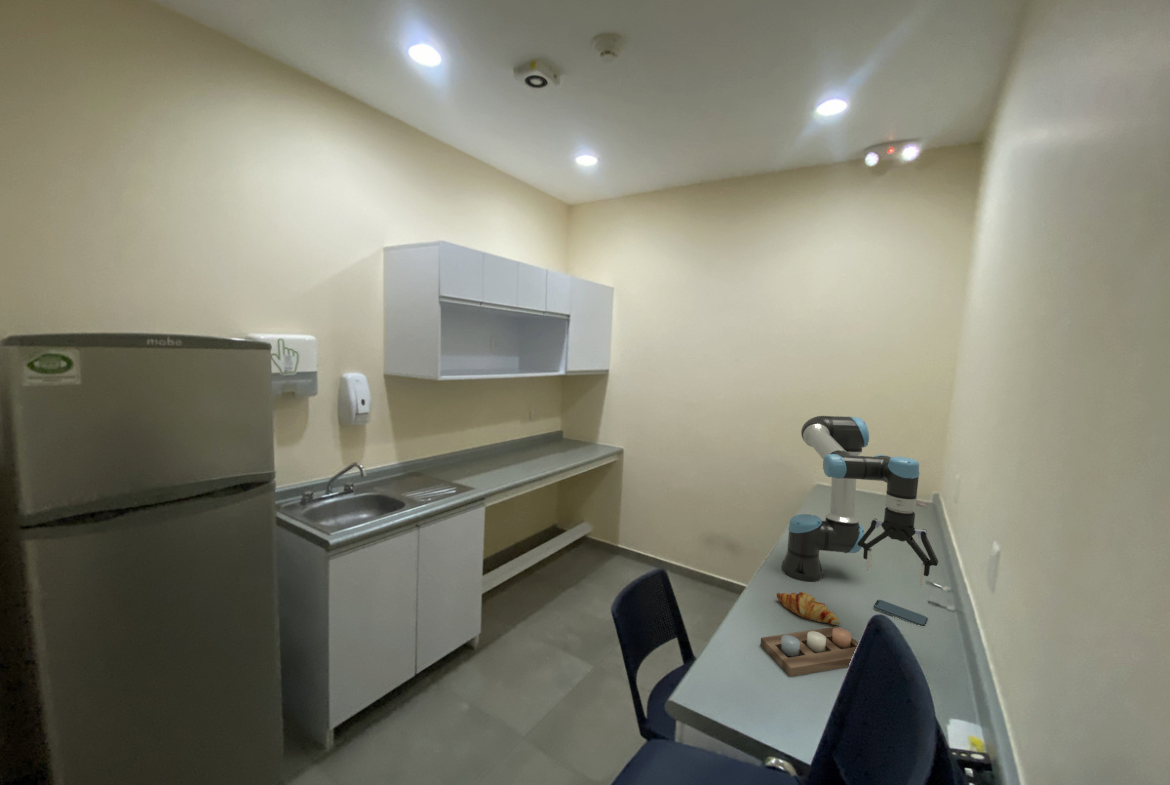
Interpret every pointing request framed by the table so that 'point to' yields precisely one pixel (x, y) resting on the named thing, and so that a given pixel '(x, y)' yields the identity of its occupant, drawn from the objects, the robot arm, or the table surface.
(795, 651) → the slate button
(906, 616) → the smartphone
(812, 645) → the cream button
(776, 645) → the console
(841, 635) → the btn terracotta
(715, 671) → the table surface
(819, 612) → the croissant
